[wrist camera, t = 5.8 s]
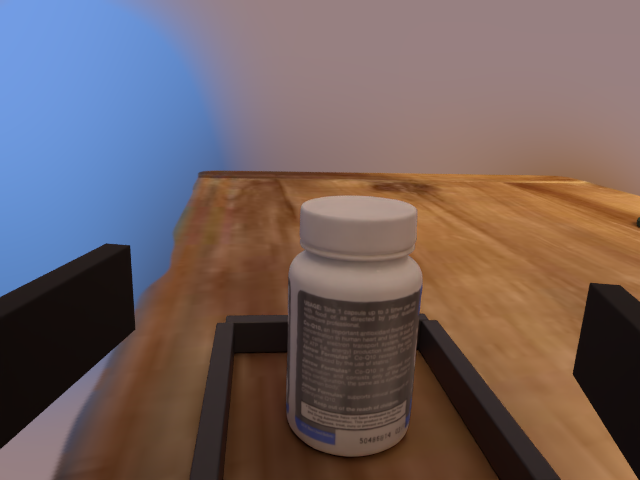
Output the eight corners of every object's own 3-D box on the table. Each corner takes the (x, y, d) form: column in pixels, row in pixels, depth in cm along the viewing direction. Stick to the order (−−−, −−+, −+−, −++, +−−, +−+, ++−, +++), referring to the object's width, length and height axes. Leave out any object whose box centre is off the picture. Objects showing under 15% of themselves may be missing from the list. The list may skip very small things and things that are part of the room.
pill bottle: (435, 436, 19) (460, 214, 17) (325, 478, 17) (337, 227, 15) (362, 376, 23) (375, 189, 21) (265, 403, 21) (267, 196, 19)
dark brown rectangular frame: (569, 547, 15) (579, 501, 14) (183, 574, 13) (180, 523, 13) (429, 341, 27) (432, 312, 26) (218, 345, 25) (218, 315, 25)
